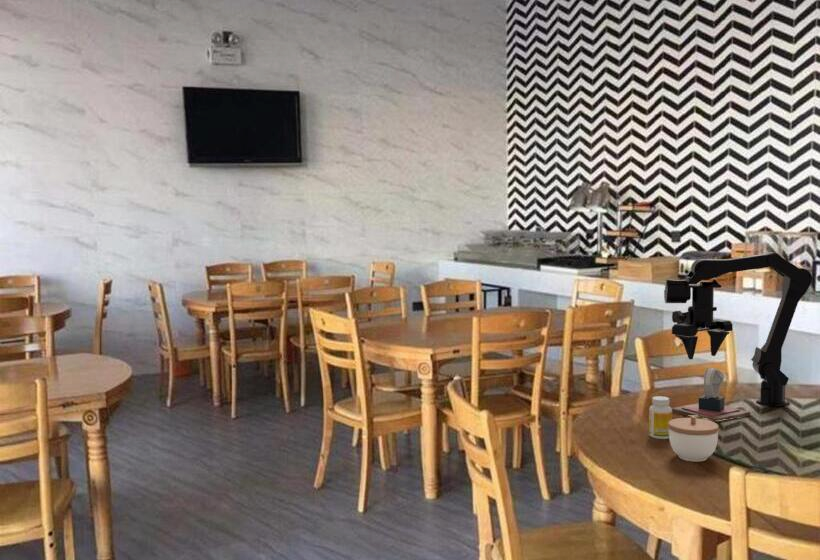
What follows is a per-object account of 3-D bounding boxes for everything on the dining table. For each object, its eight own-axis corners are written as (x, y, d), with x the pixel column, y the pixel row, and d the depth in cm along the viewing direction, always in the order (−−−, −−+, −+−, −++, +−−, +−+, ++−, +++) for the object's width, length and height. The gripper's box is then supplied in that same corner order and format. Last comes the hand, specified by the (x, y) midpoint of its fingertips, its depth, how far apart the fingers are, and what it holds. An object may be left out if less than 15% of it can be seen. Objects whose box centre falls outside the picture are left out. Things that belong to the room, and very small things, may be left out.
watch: (726, 406, 216) (726, 367, 215) (717, 413, 209) (718, 372, 208) (705, 404, 219) (705, 365, 218) (696, 410, 213) (696, 370, 212)
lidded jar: (691, 468, 171) (692, 425, 170) (657, 454, 180) (657, 414, 180) (729, 460, 175) (729, 419, 174) (693, 447, 185) (694, 408, 184)
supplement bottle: (644, 435, 196) (644, 397, 195) (660, 432, 198) (661, 394, 197) (659, 440, 191) (660, 401, 190) (676, 437, 193) (676, 398, 192)
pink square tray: (707, 404, 224) (707, 399, 224) (749, 415, 211) (749, 410, 211) (672, 411, 217) (672, 406, 217) (713, 423, 205) (713, 417, 205)
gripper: (703, 298, 236) (702, 350, 237) (657, 303, 227) (657, 356, 228) (734, 301, 226) (733, 355, 227) (687, 306, 217) (687, 362, 218)
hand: (702, 357), depth 226 cm, fingers open, 9 cm apart
